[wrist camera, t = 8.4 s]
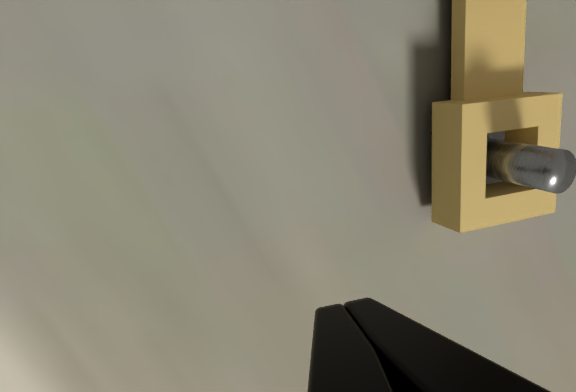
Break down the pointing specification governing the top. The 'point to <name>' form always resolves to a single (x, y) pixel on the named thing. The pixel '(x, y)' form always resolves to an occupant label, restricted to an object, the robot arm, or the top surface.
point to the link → (488, 119)
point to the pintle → (528, 164)
